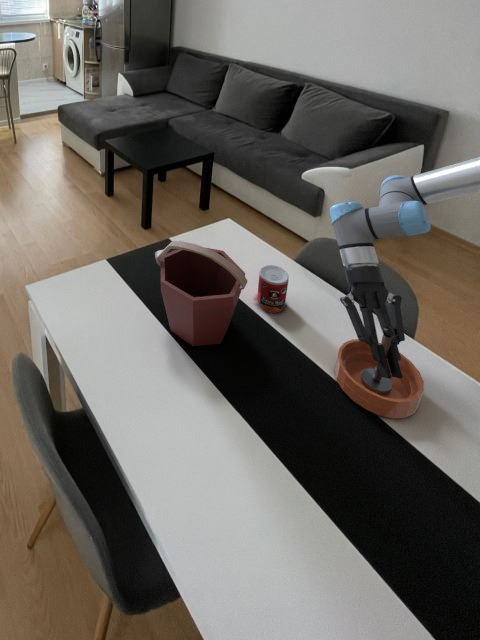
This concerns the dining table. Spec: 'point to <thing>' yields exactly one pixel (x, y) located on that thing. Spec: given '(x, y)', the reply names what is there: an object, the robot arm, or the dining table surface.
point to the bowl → (391, 405)
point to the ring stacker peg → (373, 376)
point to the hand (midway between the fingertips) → (392, 377)
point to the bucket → (199, 291)
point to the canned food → (272, 288)
